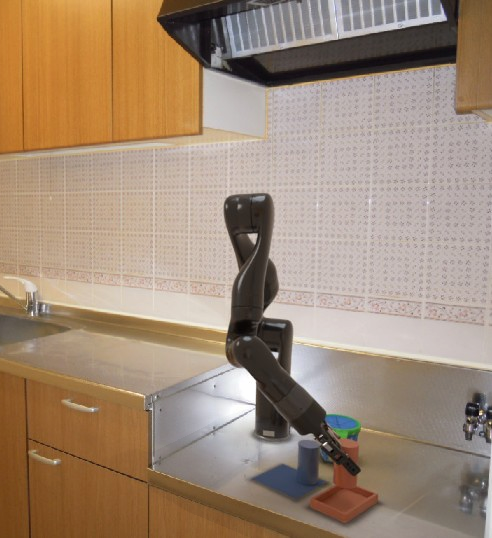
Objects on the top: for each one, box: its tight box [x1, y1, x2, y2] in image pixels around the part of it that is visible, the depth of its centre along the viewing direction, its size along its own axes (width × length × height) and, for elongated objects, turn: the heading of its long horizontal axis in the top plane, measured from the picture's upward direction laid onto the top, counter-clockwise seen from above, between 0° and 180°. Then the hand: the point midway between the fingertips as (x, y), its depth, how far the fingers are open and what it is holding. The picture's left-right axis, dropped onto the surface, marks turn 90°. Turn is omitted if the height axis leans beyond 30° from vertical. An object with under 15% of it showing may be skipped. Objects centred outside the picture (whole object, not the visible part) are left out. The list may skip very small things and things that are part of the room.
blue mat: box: [252, 463, 327, 500], centre depth 133 cm, size 12×12×1 cm
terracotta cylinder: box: [332, 439, 360, 489], centre depth 121 cm, size 5×5×9 cm
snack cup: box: [320, 413, 362, 465], centre depth 144 cm, size 16×10×10 cm
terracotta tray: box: [309, 484, 379, 524], centre depth 122 cm, size 13×8×2 cm, turn 130°
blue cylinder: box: [296, 439, 321, 486], centre depth 132 cm, size 5×5×9 cm
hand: (355, 467), depth 121 cm, fingers closed on terracotta cylinder, 4 cm apart
